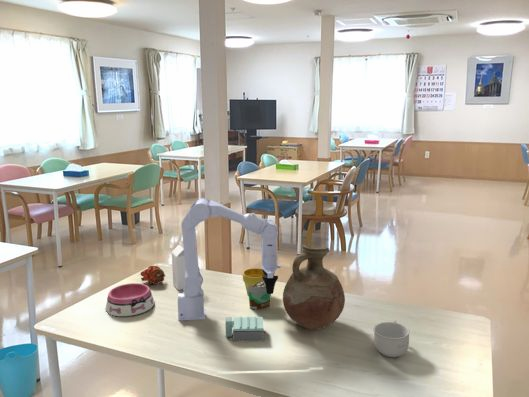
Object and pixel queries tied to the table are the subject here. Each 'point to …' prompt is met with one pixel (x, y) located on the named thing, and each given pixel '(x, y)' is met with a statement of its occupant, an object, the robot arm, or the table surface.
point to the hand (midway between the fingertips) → (269, 289)
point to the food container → (259, 296)
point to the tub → (247, 336)
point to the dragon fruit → (153, 275)
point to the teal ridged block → (243, 324)
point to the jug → (313, 291)
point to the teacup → (391, 338)
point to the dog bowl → (129, 300)
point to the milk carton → (178, 267)
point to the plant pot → (252, 277)
